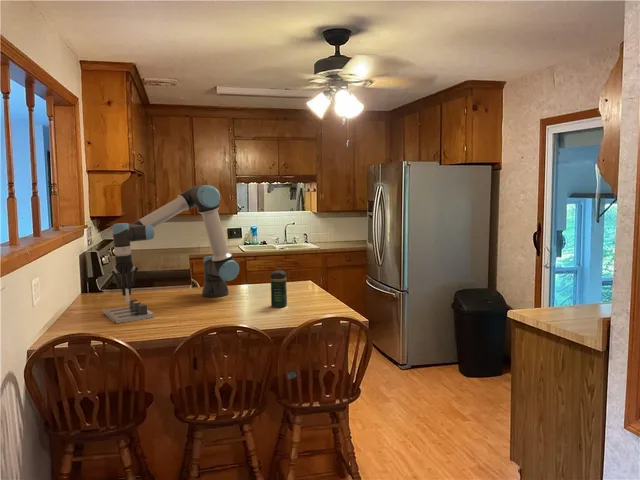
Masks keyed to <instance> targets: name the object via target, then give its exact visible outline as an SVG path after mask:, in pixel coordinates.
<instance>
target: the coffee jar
mask: <svg viewBox="0 0 640 480" xmlns="http://www.w3.org/2000/svg"><path fill="white" fill-rule="evenodd" d="M287 291H288V289H287V272H286V271H285V270H280V269H278V270H274V271H273V272H272V273H270V298H271V299H270V304H271V307H272V308H278V309H279V308H284V307H286V306H287V304H288V295H287Z"/></svg>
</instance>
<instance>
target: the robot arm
mask: <svg viewBox="0 0 640 480" xmlns="http://www.w3.org/2000/svg"><path fill="white" fill-rule="evenodd" d="M220 202H221V195H220V191H219V190H218V189H217V188H216V187H215V186H213V185H209V184H203V185H199V184H198V185H194V186H192V187H190V188H188V189H187V190H185V191H183V192H181V193H180V194H178V195H177V198H175V199H173V200H172V201H171V200H170V202H168V203H165V204H164V205H162V206H161V207H159V208H158V209H155V210H153V211H152V212H150V213H149V214H147V215H144V217H142V218H140V219H138V220H136V221H134V222H132V223H127V222H123V223H122V222H121V223H120V222H118V223H114V224H112V238H113V239H112V240H113V249H114V255H115V256H114V258H115V259H114V260H115V261H114V262H115V266H114V268H113V269H111V270H110V273H111V274H112V275H113V278H114V279H113V280H114V281H115V285H116V286H117V289H120V290H121V291H122V292H121V293H122V294H121V295H122V296H123V297H124V301H125V303H129V302H130V299H131V297H130V296H131V295H132V288H133V287H135V284H136V283H135V282H136V278H137V272H138V270H139V267H137V266H134V264H133V259H132V257H133V256H132V250H131V243H132V242H133V243H134V242H141V241H148V240H153V239H154V237H155V228H156V227H158V226H159V225H161V224H163V223H165V222H166V221H168V220H170V219H171V218H173V217H175V216H176V215H179V214H180V213H182V212H184V211H189V210H191V209H194V208H197V213H198V214H201V216H202V219H203V222H204V226H205V231H206V233H207V234H206V235H207V237H208V241H209V244H210V245H209V246H210V248H211V251H212V255H209V256H204V257H203V262H202V263H203V276H204V278H203V279H204V284H203V287H202V290H201V295H202V297H206V298H218V297H224V296H225V297H226V296H228V295H229V288H228V286H227V283H226V282H229V281H232V280H235V279H236V278H237V277H238V275H239V272H240V266H239V264H238V262H237V261H235V260H234V256H233V253H231V252H230V251H229V248H228V245H227V241H226V236H225V234H224V230H223V226H222V222H221V218H220V214H219V209H220ZM131 271H132V273H130V272H131ZM117 272H118V273H119V275H120V279H119V276H118V274H117ZM130 274H131V275H130ZM130 277H131V278H130ZM125 280H126V281H125Z"/></svg>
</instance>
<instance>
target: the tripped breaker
mask: <svg viewBox="0 0 640 480" xmlns="http://www.w3.org/2000/svg"><path fill="white" fill-rule="evenodd" d="M139 304H142V302H141V301H139V300H137V301H136V302H132V306H133V310H134V311H139V310H138V305H139Z"/></svg>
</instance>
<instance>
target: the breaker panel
mask: <svg viewBox="0 0 640 480" xmlns="http://www.w3.org/2000/svg"><path fill="white" fill-rule="evenodd" d="M136 301H138V299H137V298H130V302H128V303H129V304H128V305H129V306H122V307H116V308H110V309H104V310H102V315H103V314H105V315H106V316H107V317H109V318H110V319H112V320H113V321H114V322H116V323H120V322H126V323H128V322H127V321H131V322H135V321H134V320H137V321H142V320H141V319H143V320H146V318H148V319H152V318H151V317H154V318H155V313H154V312H153V311H151V310H149V309H148V305H147V304H145V303H141V304H139V305H138V310H139V311H134V310H133V306H132V302H136ZM105 315H104V316H105ZM106 316H105V317H106ZM107 317H106V318H107ZM109 318H108V319H109ZM110 319H109V320H110ZM113 321H112V322H113ZM114 322H113V323H114ZM120 324H121V323H120Z"/></svg>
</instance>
